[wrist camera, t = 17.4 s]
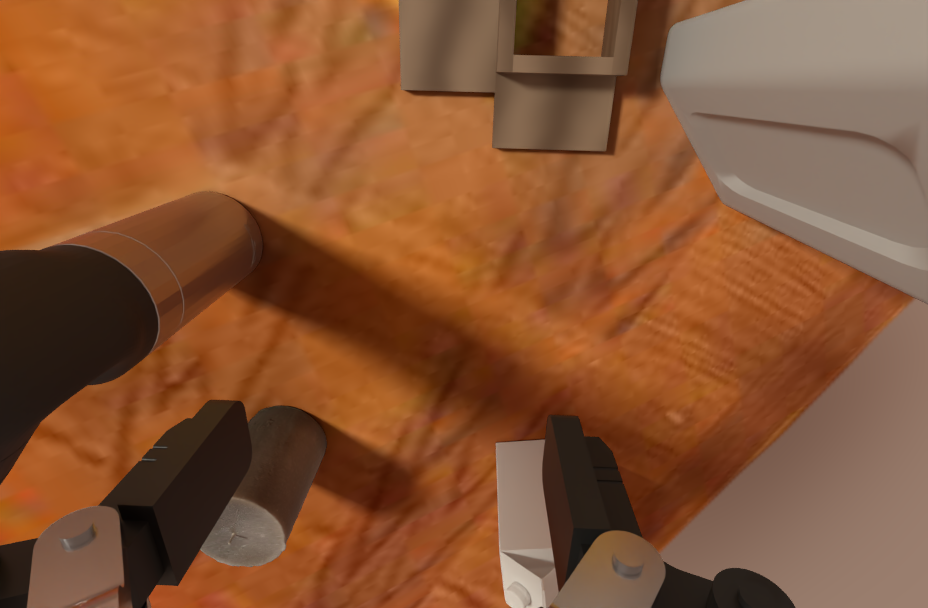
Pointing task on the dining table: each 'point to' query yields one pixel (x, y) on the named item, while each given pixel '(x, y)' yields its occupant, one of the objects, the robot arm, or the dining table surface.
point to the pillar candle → (269, 488)
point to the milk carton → (524, 526)
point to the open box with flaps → (516, 71)
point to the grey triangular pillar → (815, 123)
